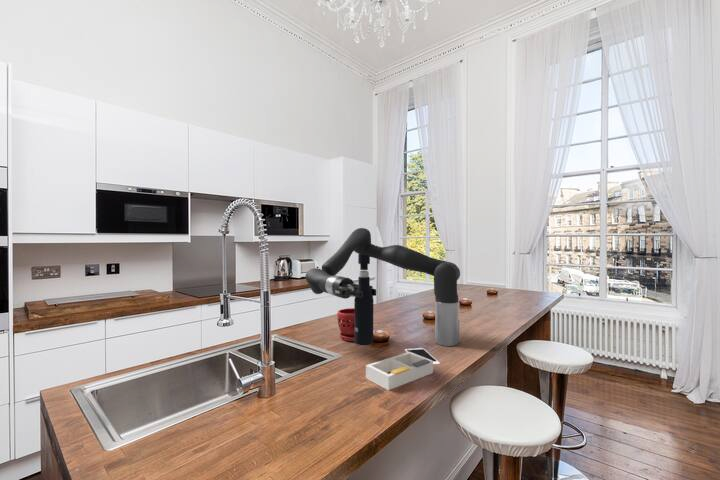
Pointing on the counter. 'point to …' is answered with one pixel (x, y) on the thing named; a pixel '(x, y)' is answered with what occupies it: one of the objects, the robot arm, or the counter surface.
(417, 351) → the cell phone
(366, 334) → the black water bottle
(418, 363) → the bottle holder
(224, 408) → the counter surface
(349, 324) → the plant pot
